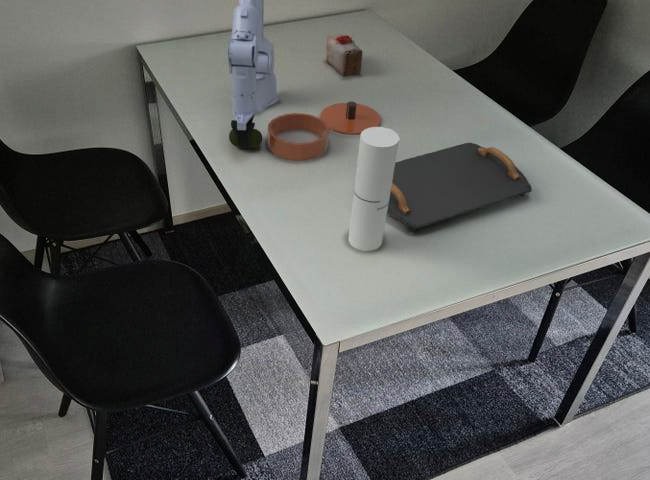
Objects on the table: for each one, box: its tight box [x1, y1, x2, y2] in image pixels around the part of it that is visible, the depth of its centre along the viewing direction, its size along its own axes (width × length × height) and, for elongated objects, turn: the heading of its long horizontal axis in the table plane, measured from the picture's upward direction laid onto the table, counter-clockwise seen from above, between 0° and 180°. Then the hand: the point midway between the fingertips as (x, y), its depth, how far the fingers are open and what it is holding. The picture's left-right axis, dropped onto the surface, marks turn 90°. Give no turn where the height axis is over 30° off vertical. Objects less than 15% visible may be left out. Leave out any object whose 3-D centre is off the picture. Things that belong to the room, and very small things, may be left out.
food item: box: [325, 33, 363, 78], centre depth 192 cm, size 14×8×10 cm, turn 23°
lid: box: [319, 101, 381, 136], centre depth 170 cm, size 16×16×5 cm
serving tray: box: [387, 142, 533, 233], centre depth 147 cm, size 39×23×6 cm, turn 117°
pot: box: [267, 112, 330, 162], centre depth 160 cm, size 15×15×5 cm
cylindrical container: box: [348, 126, 400, 252], centre depth 127 cm, size 7×7×25 cm
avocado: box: [228, 128, 263, 149], centre depth 158 cm, size 8×5×5 cm, turn 88°
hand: (244, 141), depth 159 cm, fingers closed on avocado, 5 cm apart
